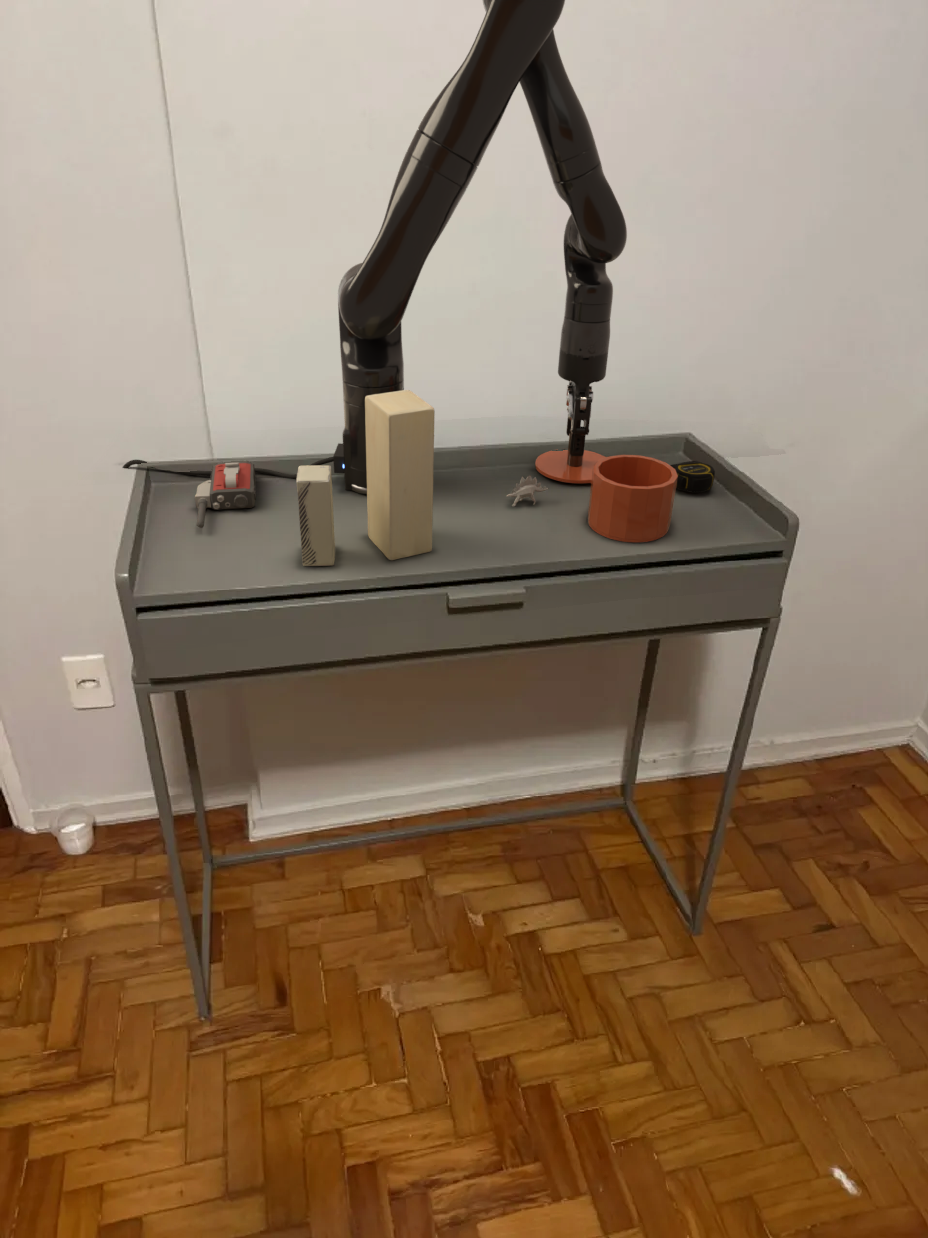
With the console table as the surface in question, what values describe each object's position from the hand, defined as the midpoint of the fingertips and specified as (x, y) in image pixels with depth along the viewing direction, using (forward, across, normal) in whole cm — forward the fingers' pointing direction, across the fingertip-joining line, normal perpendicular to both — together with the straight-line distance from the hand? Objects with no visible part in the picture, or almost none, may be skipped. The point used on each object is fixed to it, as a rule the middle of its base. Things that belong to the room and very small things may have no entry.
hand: (574, 445), depth 153 cm
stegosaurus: (+5, +13, -8) cm, 16 cm away
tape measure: (+5, +5, +18) cm, 19 cm away
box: (+5, +33, -37) cm, 50 cm away
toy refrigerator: (+5, +28, -26) cm, 38 cm away
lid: (+4, 0, 0) cm, 4 cm away
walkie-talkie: (+5, +17, -54) cm, 56 cm away
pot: (+4, +19, +7) cm, 21 cm away
